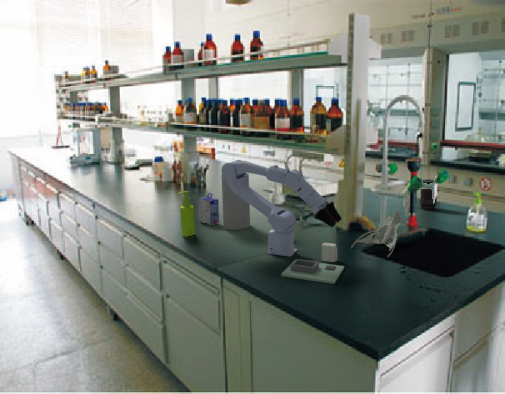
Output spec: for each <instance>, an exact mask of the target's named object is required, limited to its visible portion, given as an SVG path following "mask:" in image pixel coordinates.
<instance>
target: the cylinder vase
mask: <svg viewBox="0 0 505 394" xmlns="http://www.w3.org/2000/svg"><path fill="white" fill-rule="evenodd" d="M249 174H250V173H246V175H245V184H246V185H247V186H249V187H250V178H249V177H250V175H249ZM220 179H221V197H222V198H221V199H222V219H223V221H222V222H223V223H222V224H223V225H222V226H223V228H224V229H226V230H228V231H243V230H246V229H249V228H250V227H251V216H250V215H251V213H250V212H251V211H250V210H251V209H250V208H251V207H250V206H251V205H250V204H249V203H247V202H246V201H245V200H243V199H242V198H241V197H239V196H238V195H237V194H235V193H234V192H233V191H232V190H231V188H230V186H229V185H228V183H227V181H226V180H225V179H223V178H222V174H221V178H220Z"/></svg>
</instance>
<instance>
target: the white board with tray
mask: <svg viewBox="0 0 505 394" xmlns="http://www.w3.org/2000/svg"><path fill="white" fill-rule="evenodd" d="M344 269H345V266H344V265H338V264H337V265H336V264H330V263H323V262H319V261H316V260H307V259H306V260H305V259H299V258H295V259H294V260H293V261H292V262H291V263H290V265H289V264H288V266H287V268H286V269H285V270H283V271H282V272H281V275H280V276H281V277H286V278H291V279H292V278H293V279H297V280H306V281H312V282H317V283H325V284H330V285H331V284H332V285H335V283H336V282H337V280H338V279H339V277H340V276H341V274H342V273H343V271H344Z"/></svg>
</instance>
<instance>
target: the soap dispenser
mask: <svg viewBox="0 0 505 394" xmlns="http://www.w3.org/2000/svg"><path fill="white" fill-rule="evenodd" d="M189 193H190V191H189V190H182V191H180V192H177V195H180V196H182V195H183V198H182V205H181V206H180V209H179V210H180V225H181V236H182V235H184V236H192V235H195V236H196V226H195V225H196V224H195V208H194V207H195V206H194V205H192V203H191V198H190V197H189ZM192 237H193V236H192Z"/></svg>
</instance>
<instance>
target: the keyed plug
mask: <svg viewBox="0 0 505 394" xmlns="http://www.w3.org/2000/svg"><path fill="white" fill-rule="evenodd" d="M321 261H322V262H328V263H330V262H331V263H335V262H337V261H338V247H337V244H336V243H331V242H330V243H329V242H323V243H322V244H321Z"/></svg>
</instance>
